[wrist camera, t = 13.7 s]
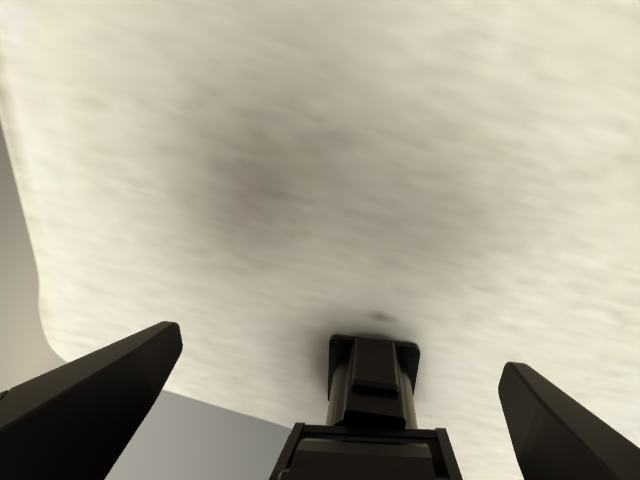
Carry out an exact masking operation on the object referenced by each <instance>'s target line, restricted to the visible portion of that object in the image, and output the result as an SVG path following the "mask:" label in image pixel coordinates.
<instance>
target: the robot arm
mask: <svg viewBox="0 0 640 480" xmlns="http://www.w3.org/2000/svg"><path fill="white" fill-rule="evenodd" d="M334 341H337V342H339V343H335V342H334ZM182 348H183V343H182V338H181V333H180V327H179V325H178V323H176V322H169V321H163V322H160V323H158V324H156V325H153V326H151V327H149V328H147V329H144V330H142V331H140V332H138V333H135V334H133V335H131V336H128V337H126V338H124V339H122V340H119V341H117V342H115V343H113V344H110V345H108V346H106V347H104V348H101V349H99V350H97V351H94V352H92V353H90V354H88V355H85V356H83V357H81V358H79V359H76V360H74V361H72V362H70V363H67V364H65V365H63V366H60V367H58V368H56V369H54V370H51V371H49V372H47V373H45V374H42V375H40V376H38V377H36V378H34V379H31V380H29V381H26V382H24V383H22V384H20V385H17V386H15V387H13V388H11V389H10V390H9V391H8V390H6V391H4V392H1V393H0V480H104V479H105V478H106V476H107V475H108V473H109V472H110V470H111V468H112V467H113V465H114V464H115V462H116V461H117V459H118V458H119V456H120V455H121V453H122V452H123V450H124V449H125V447H126V446H127V444H128V443H129V441H130V440H131V438H132V437H133V435H134V434H135V432H136V430H137V429H138V427H139V426H140V424H141V423H142V421H143V420H144V418H145V417H146V415H147V414H148V412H149V411H150V409H151V407H152V406H153V404H154V403H155V401H156V399H157V397H158V396H159V394H160V392H161V390H162V388H163V386H164V385H165V383H166V381H167V379H168V377H169V375H170V373H171V371H172V370H173V368H174V366H175V364H176V362H177V360H178V358H179V356H180V354H181V352H182ZM412 350H414V351H415V352H410V351H412ZM419 359H420V349H419V347H418V346H417V345H415V344H410V343H401V342H393V341H384V340H375V339H367V338H358V337H349V336H341V335H334V336H332V337H331V338H330V343H329V375H328V401H329V407H328V413H327V420H326V425H305V423H298V422H296V423H295V425H294V427H293V430H292V432H291V434H290V435H289V437H288V439H287V442H286V443H285V446H284V448H283V450H282V452H281V454H280V457H279V459H278V461H277V463H276V465H275V468H274V469H273V472H272V474H271V476H270V478H269V480H463V479H462V476H461V473H460V470H459V467H458V464H457V461H456V458H455V455H454V452H453V449H452V446H451V443H450V440H449V437H448V434H447V431H446V428H435V430H429V429H418V428H417V421H416V414H415V408H414V401H413V395H414V389H415V383H416V377H417V371H418V365H419ZM498 393H499V398H500V401H501V405H502V409H503V412H504V416H505V419H506V423H507V426H508V430H509V434H510V437H511V441H512V444H513V448H514V451H515V455H516V458H517V461H518V464H519V467H520V469H521V472H522V475H523V477H524V480H640V448H639V447H637V446H636V445H634V444H633V443H632V442H630V441H629V440H628V439H626V438H625V437H624V436H622V435H621V434H620V433H618V432H617V431H616V430H614V429H613V428H612V427H610V426H609V425H608V424H606V423H605V422H604V421H602V420H601V419H600V418H598V417H597V416H595V415H594V414H593V413H591V412H590V411H589V410H587V409H586V408H585V407H583V406H582V405H581V404H579V403H578V402H577V401H575V400H574V399H573V398H571V397H570V396H569V395H567V394H566V393H565V392H563V391H562V390H560V389H559V388H558V387H556V386H555V385H554V384H552V383H551V382H550V381H548V380H547V379H546V378H544V377H543V376H542V375H540V374H539V373H538V372H536V371H535V370H534V369H532V368H531V367H530V366H528V365H527V364H524V363H518V362H507V363H506V364H505V366H504V369H503V372H502V376H501V379H500V383H499V386H498Z"/></svg>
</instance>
